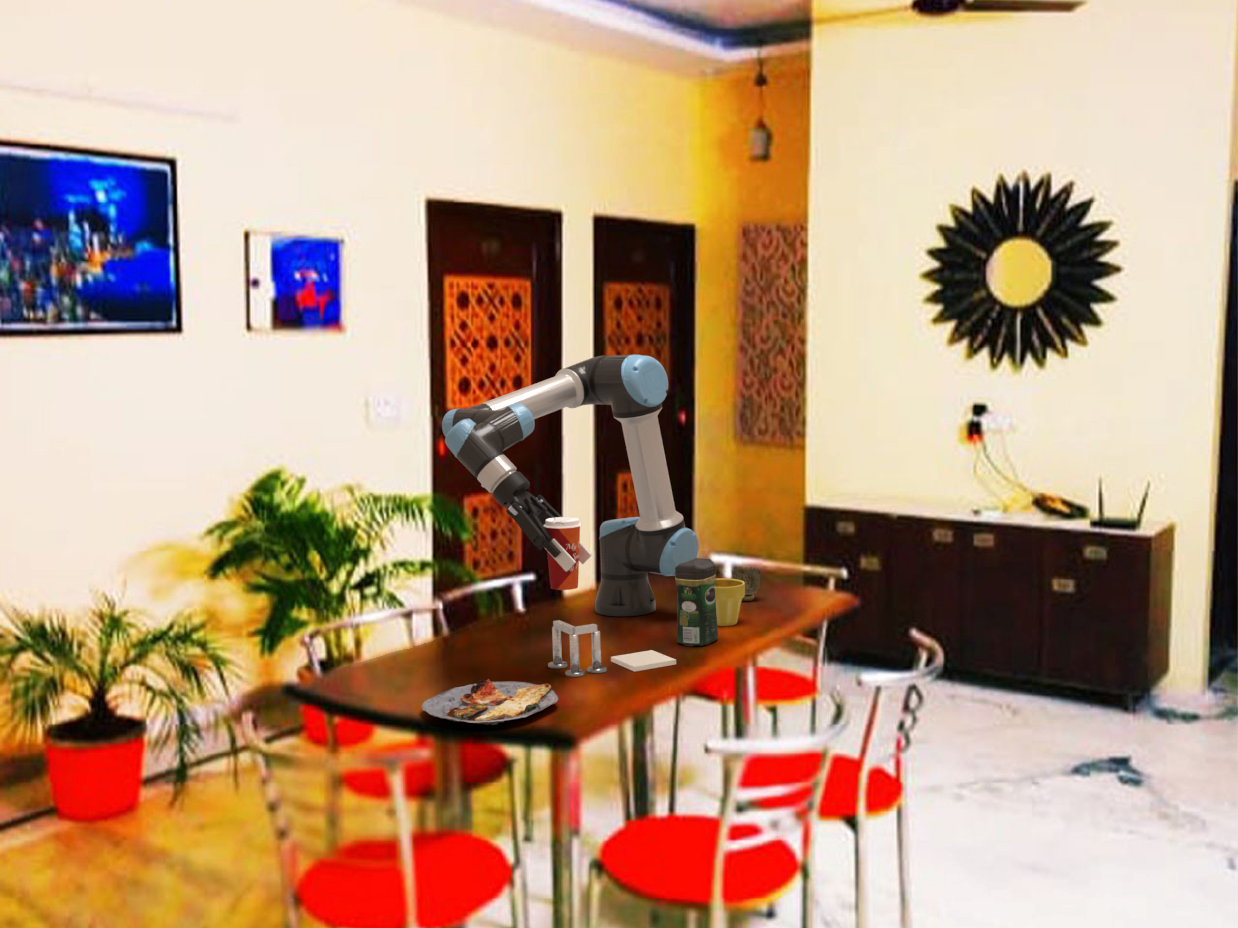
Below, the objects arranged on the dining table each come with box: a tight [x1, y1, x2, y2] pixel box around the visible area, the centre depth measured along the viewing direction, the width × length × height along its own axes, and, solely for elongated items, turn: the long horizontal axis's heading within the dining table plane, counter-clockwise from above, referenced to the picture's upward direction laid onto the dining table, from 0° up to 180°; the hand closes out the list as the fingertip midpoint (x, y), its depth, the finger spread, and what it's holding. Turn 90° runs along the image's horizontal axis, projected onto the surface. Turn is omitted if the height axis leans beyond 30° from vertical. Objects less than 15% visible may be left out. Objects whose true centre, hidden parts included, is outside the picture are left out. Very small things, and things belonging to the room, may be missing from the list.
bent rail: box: [547, 619, 607, 678], centre depth 268 cm, size 12×9×10 cm
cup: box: [731, 566, 762, 602], centre depth 331 cm, size 8×7×8 cm
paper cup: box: [543, 516, 582, 591], centre depth 263 cm, size 8×8×14 cm
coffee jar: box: [674, 557, 719, 647], centre depth 288 cm, size 10×8×19 cm
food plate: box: [421, 678, 559, 726], centre depth 241 cm, size 25×23×4 cm
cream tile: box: [610, 649, 677, 672], centre depth 272 cm, size 10×10×1 cm
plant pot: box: [715, 578, 745, 627], centre depth 306 cm, size 10×10×10 cm
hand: (579, 563), depth 262 cm, fingers closed on paper cup, 8 cm apart
